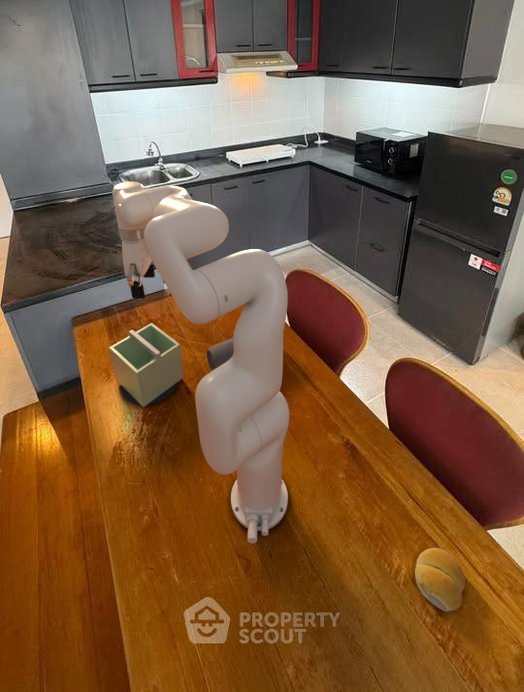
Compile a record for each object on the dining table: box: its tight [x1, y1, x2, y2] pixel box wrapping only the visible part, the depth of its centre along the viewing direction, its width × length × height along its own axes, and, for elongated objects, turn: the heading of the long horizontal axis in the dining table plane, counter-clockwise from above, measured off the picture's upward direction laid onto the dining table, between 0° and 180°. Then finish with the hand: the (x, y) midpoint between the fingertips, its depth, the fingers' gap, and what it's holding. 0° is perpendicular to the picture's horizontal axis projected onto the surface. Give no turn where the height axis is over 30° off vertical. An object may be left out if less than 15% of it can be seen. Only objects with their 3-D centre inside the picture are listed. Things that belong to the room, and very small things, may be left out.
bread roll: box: [414, 547, 466, 613], centre depth 71 cm, size 8×9×4 cm
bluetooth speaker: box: [206, 337, 284, 371], centre depth 118 cm, size 23×9×10 cm, turn 118°
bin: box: [108, 322, 185, 408], centre depth 110 cm, size 14×14×14 cm
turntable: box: [120, 380, 181, 407], centre depth 113 cm, size 17×17×1 cm
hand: (144, 286), depth 103 cm, fingers open, 9 cm apart
